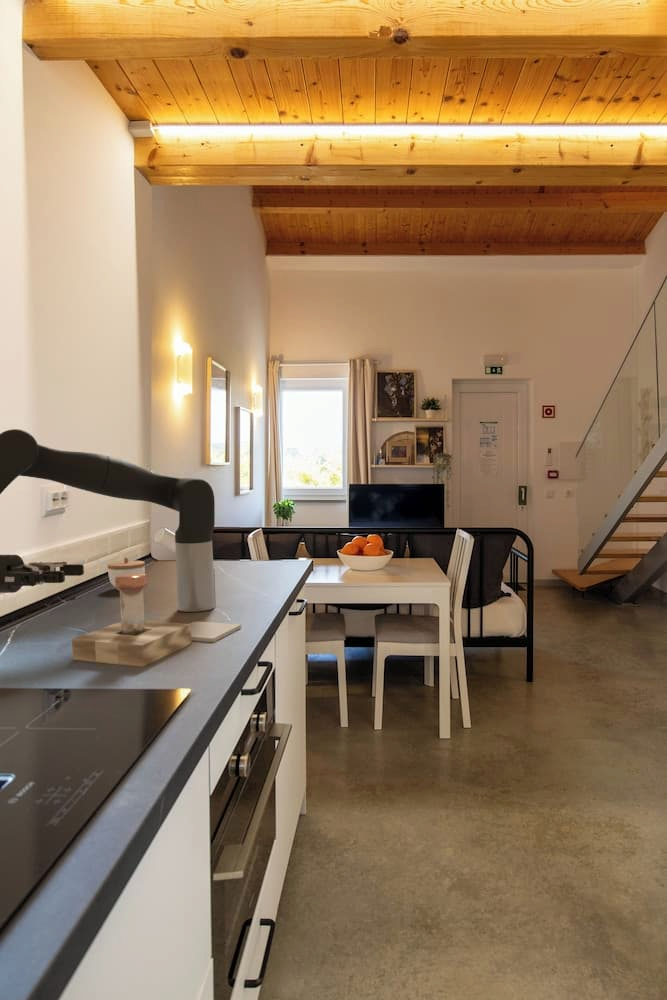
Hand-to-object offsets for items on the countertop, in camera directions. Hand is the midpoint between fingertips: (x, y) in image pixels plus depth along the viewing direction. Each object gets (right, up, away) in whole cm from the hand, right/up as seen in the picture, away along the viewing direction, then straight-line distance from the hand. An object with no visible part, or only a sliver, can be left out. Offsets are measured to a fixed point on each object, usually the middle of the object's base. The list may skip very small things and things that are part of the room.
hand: (73, 573), depth 130 cm
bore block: (+12, -16, 0) cm, 20 cm away
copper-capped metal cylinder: (+12, -16, 0) cm, 20 cm away
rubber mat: (+23, -15, +13) cm, 30 cm away
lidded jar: (-11, -13, +69) cm, 71 cm away
